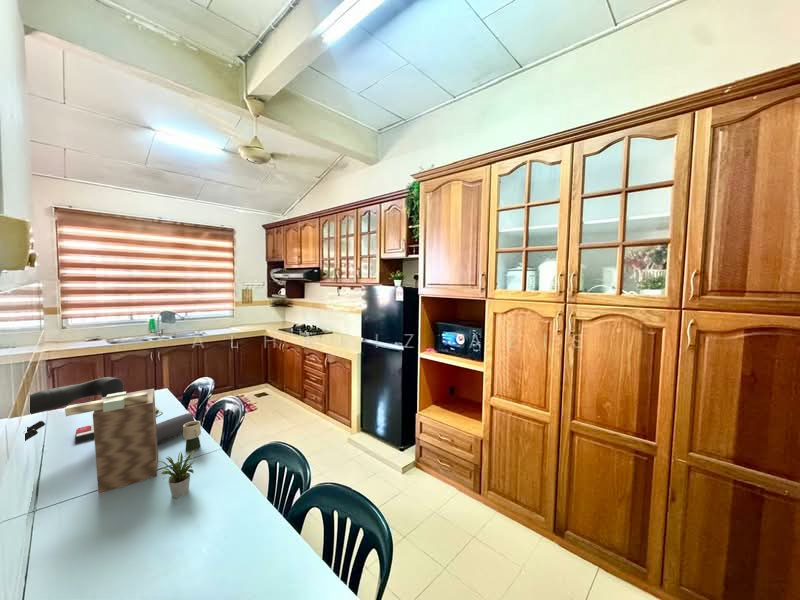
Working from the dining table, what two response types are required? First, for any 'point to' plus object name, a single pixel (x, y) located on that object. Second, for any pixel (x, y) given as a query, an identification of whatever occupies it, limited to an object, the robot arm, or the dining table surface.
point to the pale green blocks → (114, 402)
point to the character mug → (192, 435)
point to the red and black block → (84, 434)
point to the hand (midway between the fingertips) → (39, 426)
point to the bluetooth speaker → (172, 427)
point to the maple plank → (99, 404)
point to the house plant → (179, 475)
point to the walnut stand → (126, 444)
